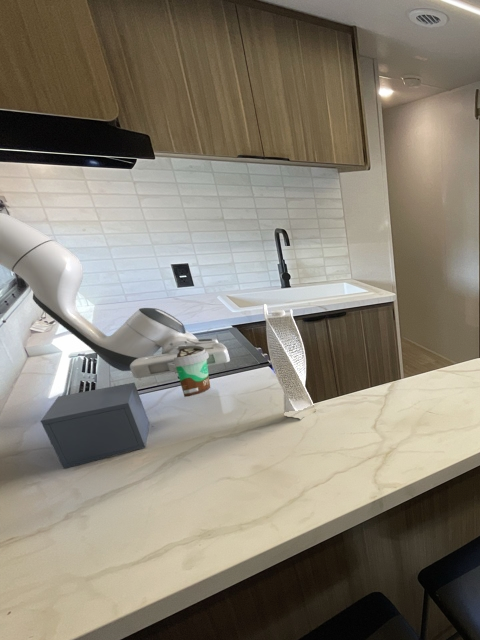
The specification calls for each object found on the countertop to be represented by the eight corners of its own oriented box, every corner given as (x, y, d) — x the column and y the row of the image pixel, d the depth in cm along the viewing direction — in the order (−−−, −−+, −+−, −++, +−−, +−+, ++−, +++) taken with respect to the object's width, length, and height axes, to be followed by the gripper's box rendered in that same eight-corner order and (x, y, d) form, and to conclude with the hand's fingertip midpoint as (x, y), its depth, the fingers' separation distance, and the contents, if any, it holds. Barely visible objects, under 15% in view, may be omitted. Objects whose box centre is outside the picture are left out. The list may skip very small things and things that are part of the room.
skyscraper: (276, 418, 100) (248, 306, 90) (299, 405, 106) (276, 300, 96) (300, 422, 97) (275, 308, 87) (323, 409, 104) (301, 302, 94)
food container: (215, 394, 98) (206, 354, 94) (183, 399, 94) (173, 358, 91) (216, 379, 107) (208, 342, 104) (187, 383, 104) (178, 345, 101)
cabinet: (77, 439, 92) (58, 396, 88) (149, 422, 99) (134, 382, 95) (63, 468, 80) (40, 420, 77) (145, 447, 88) (128, 402, 84)
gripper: (128, 351, 102) (122, 366, 92) (223, 337, 114) (227, 348, 103) (136, 374, 104) (132, 391, 94) (229, 358, 116) (233, 371, 105)
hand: (183, 368), depth 99 cm, fingers closed on food container
